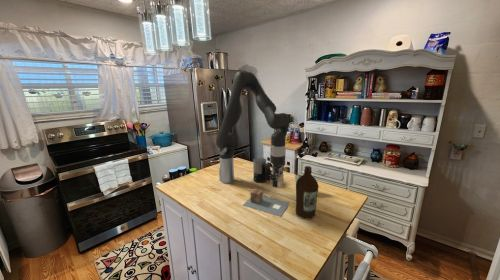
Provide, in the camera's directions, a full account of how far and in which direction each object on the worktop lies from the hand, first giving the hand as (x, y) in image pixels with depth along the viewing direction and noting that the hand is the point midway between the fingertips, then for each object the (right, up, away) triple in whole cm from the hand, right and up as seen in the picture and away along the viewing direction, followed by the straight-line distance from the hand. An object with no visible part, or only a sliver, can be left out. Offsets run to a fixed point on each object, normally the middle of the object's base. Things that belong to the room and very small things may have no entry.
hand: (276, 184), depth 108 cm
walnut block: (-10, -11, +9) cm, 17 cm away
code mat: (-5, -12, +6) cm, 14 cm away
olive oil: (+14, -14, -3) cm, 20 cm away
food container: (+18, -9, +19) cm, 28 cm away
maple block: (0, 0, 0) cm, 0 cm away
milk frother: (-3, -4, +37) cm, 38 cm away
